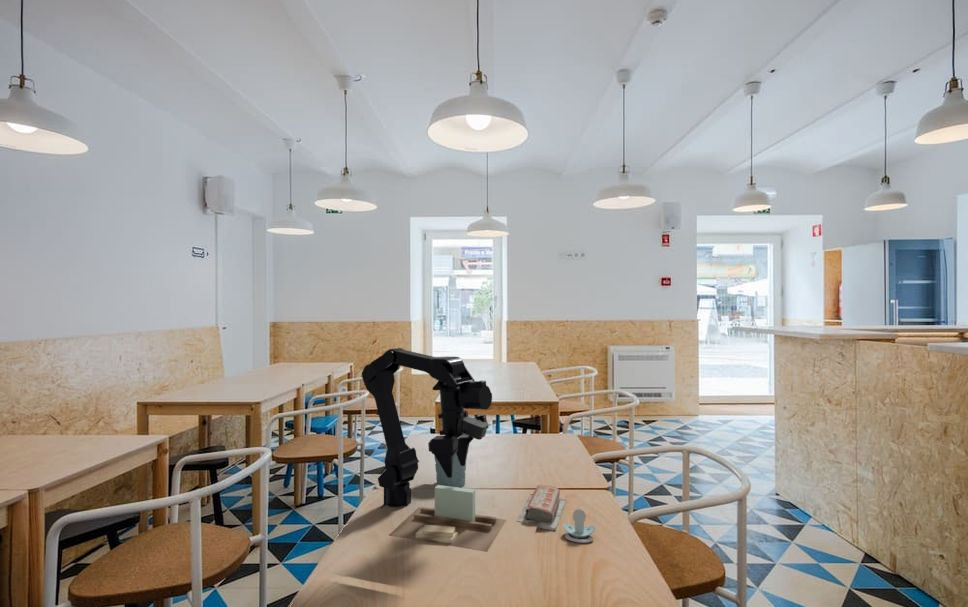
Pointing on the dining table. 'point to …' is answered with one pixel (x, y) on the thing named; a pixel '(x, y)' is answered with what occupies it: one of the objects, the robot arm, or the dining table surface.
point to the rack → (469, 532)
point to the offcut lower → (436, 537)
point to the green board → (455, 503)
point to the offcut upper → (438, 531)
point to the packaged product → (543, 508)
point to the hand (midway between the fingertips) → (456, 471)
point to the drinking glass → (457, 474)
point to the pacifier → (579, 528)
